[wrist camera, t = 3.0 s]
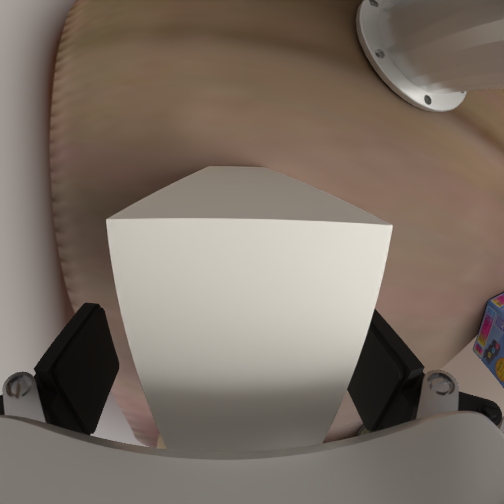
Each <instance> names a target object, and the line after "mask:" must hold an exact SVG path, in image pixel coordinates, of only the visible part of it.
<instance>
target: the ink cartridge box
mask: <svg viewBox="0 0 504 504" xmlns="http://www.w3.org/2000/svg"><path fill="white" fill-rule="evenodd" d="M473 351H474V352H475V353H476V355H477V356H478V357H479V358H480V359H481V360H482V361H483V363H484V364H485V365H486V366H487V368H489V370H490V371H491V372H492V374H493V375H494V376H495V377H496V379H497V380H498V381H499V382H500V384H501V385H502V386H503V388H504V293H502V294H500V295H498V296H496V297H494V298H492V299H490V300H488V303H487V307H486V310H485V314H484V317H483V321H482V324H481V327H480V330H479V333H478V336H477V339H476V342H475V344H474V347H473Z"/></svg>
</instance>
